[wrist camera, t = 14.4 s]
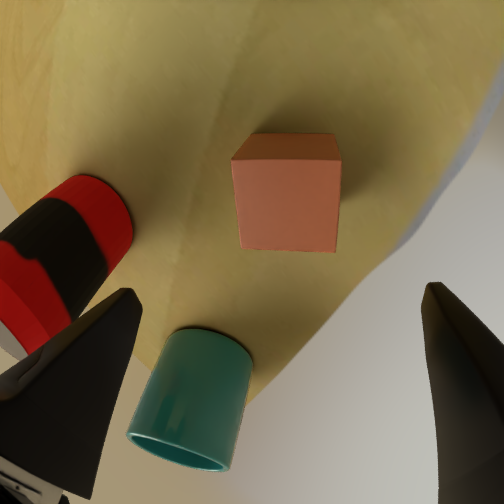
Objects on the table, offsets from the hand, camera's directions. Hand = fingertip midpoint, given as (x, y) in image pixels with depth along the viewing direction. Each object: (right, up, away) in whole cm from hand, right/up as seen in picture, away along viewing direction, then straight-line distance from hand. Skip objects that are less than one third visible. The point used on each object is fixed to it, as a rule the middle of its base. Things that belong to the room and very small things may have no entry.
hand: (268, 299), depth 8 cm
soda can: (-13, +4, +13) cm, 18 cm away
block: (+2, +6, +8) cm, 10 cm away
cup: (-4, -10, +21) cm, 24 cm away
